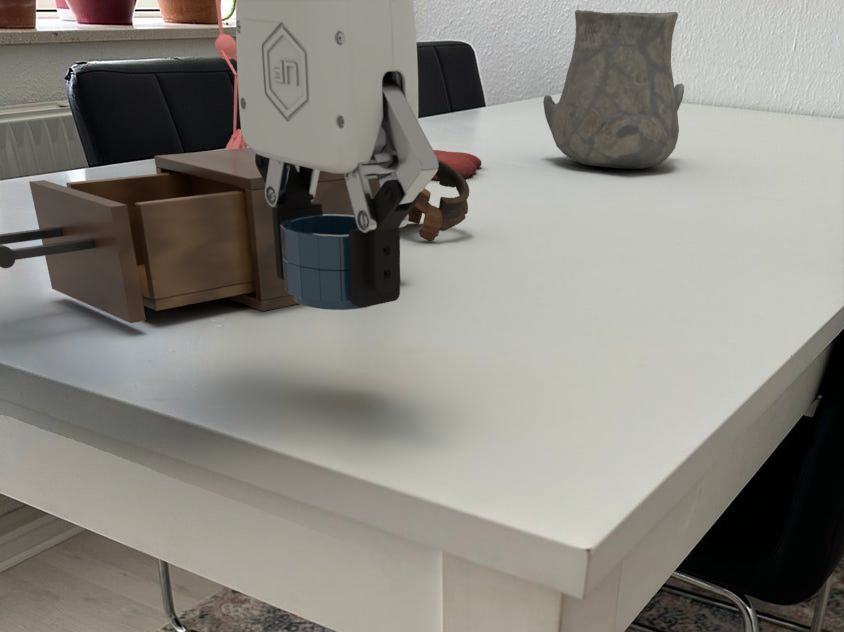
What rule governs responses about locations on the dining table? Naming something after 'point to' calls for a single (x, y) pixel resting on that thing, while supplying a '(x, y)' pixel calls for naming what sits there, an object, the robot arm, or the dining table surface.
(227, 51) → the figurine
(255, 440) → the dining table surface
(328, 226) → the blue cup
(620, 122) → the vessel
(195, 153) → the cabinet
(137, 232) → the drawer
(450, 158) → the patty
